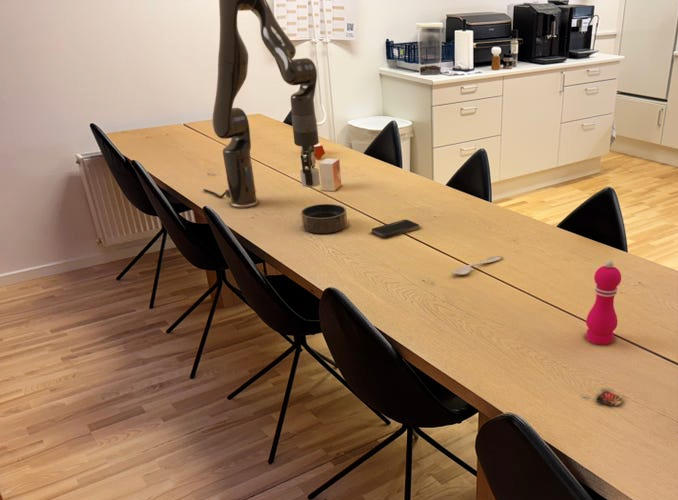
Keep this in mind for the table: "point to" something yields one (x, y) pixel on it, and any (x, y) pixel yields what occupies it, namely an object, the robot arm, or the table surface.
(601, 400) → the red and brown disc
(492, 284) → the table surface
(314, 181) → the grey short cylinder
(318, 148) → the potion bottle
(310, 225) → the bowl
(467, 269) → the spoon
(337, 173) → the small box
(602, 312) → the pepper mill
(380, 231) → the phone
